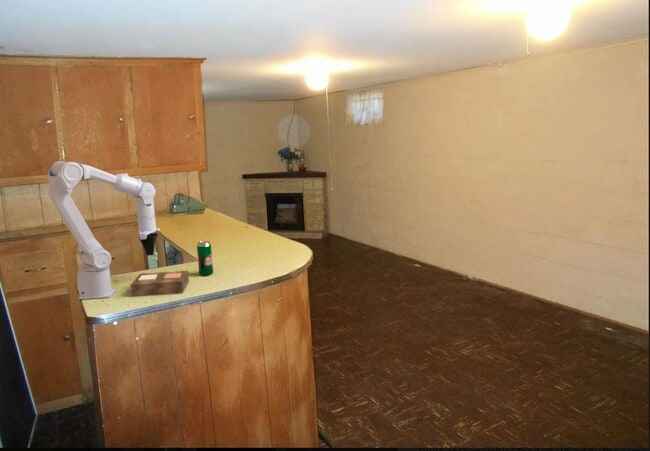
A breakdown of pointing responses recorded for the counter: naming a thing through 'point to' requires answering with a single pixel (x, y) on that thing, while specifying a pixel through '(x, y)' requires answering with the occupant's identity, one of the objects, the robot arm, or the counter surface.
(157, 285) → the key console
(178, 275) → the terracotta key
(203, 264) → the soda can
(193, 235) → the counter surface
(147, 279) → the offwhite key
